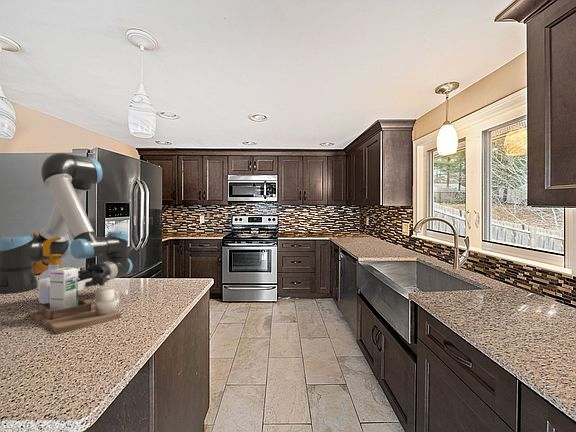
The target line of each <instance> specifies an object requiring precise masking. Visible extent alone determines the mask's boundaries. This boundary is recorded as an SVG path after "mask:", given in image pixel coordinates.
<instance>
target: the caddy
mask: <svg viewBox="0 0 576 432" xmlns="http://www.w3.org/2000/svg"><path fill="white" fill-rule="evenodd" d="M115 291H116V288H115V287H111V286H106V287H99V288H96V289H95V299H94V300H95V301H93V300H90V299H88V298H87V299H81V298H79V297H78V306H75V307H70V308H65V309H60V310H56V311H52V310H50V303H44V304H42V303H39V304H37V309H31V310H28V315H29V316H30V317H31V318H33V319H34V320H36V321H37V322H39V323H40V324H42V325H44V326H45V327H47V328H48V329H49V330H51V331H53V332H54V333H56V334H57V335H60V334H63V333H67V332H72V331H75V330H79V329H82V328H86V327H90V326H94V325H98V324H102V323H105V322H110V321H114V320H116V319H117V320H118V319H121V314H122V313H120V312H118V311H116V310H115V301H116V299H115V296H116V295H115Z"/></svg>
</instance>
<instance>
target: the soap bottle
mask: <svg viewBox="0 0 576 432" xmlns="http://www.w3.org/2000/svg"><path fill="white" fill-rule="evenodd" d="M60 239H61V238H60V237H54V238H51V239H48V240H46V241H44V242H43V255H44V256H47V257H50V259H51V262H50V263H49V268H48V269H47V270H46V271H44V272H43V273H41V274H39V277H38V280H41V279H45V278H49V275H50V271H51V270H56V269H60V268H59V262H57V259H58V257H59V256H63V255H60V254H53V255H50V245H51V243H52V242H54V241H57V240H60ZM38 303H39V304H44V303H50V286H47V287H43V288H38Z"/></svg>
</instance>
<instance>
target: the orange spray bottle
mask: <svg viewBox="0 0 576 432" xmlns="http://www.w3.org/2000/svg"><path fill="white" fill-rule="evenodd" d="M32 235H33V237H36V236H38V235H39V232H33V234H32ZM50 262H51V260H48V261H41V262H33V272H34V274H35V275H40V274H41V273H43V272H44V271H46V270H47V269H48V268H49V263H50ZM57 262H59V268H60V269H61V268H62V258H60V259H57Z"/></svg>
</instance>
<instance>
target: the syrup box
mask: <svg viewBox="0 0 576 432" xmlns="http://www.w3.org/2000/svg"><path fill="white" fill-rule="evenodd" d="M78 271H79V268H78V267H61V269H56V270H51V271H50V310H52V311H56V310H60V309H65V308H70V307H75V306H78V298H79V291H76V282H78V280H79V278H78Z"/></svg>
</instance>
